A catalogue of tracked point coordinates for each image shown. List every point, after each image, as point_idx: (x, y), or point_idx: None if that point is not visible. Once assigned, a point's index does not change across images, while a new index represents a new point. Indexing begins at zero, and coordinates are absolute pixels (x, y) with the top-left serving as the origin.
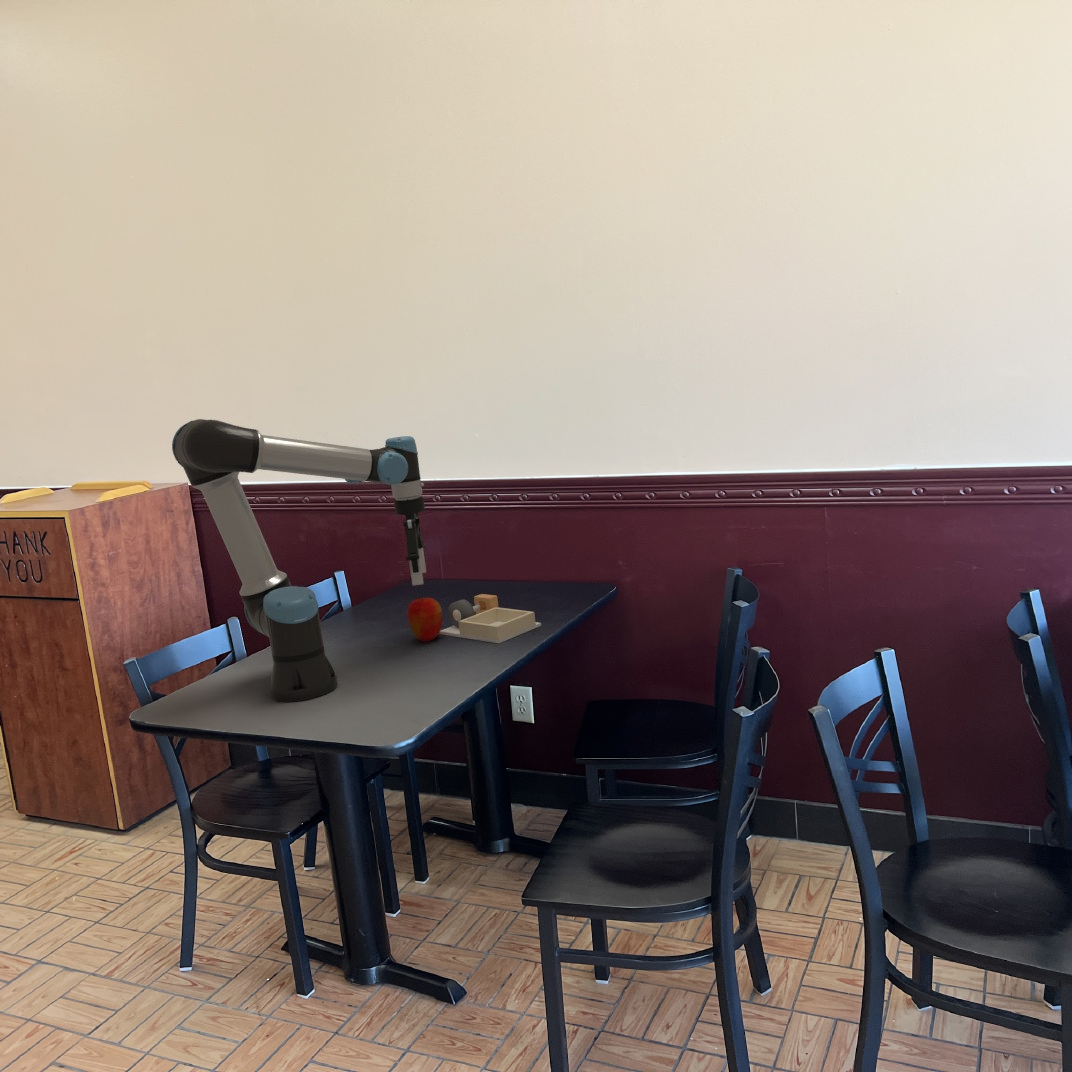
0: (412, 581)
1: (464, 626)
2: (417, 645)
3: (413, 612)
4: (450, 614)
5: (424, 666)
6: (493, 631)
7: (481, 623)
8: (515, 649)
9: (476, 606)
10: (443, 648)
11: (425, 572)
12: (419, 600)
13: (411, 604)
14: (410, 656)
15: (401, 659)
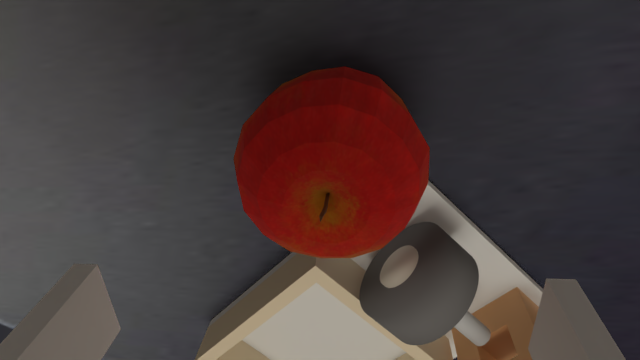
0: (53, 290)
1: (296, 271)
2: (274, 77)
3: (248, 132)
4: (433, 242)
5: (11, 122)
6: (209, 339)
7: (250, 329)
8: (146, 347)
9: (466, 336)
10: (204, 176)
11: (528, 346)
12: (341, 185)
13: (292, 137)
14: (130, 60)
15: (96, 26)
